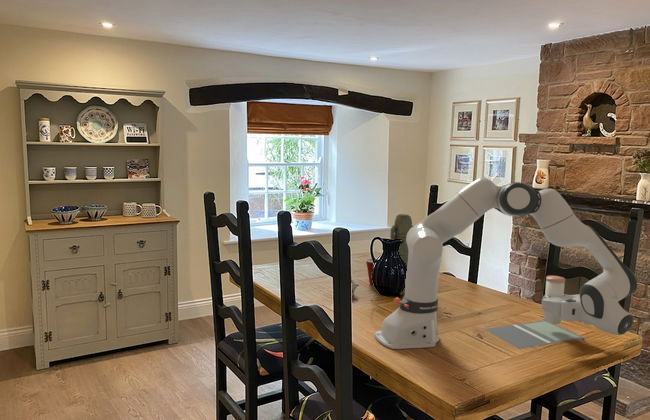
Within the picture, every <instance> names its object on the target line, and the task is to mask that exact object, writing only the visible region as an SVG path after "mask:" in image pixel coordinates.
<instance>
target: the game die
mask: <svg viewBox="0 0 650 420" xmlns="http://www.w3.org/2000/svg"><path fill="white" fill-rule="evenodd" d="M350 277H351V283H352V296H355V292H356V289H357V287H358V286H360V285H359V284H357V283H356V282H355V281H354V280H353V279H352V276H350Z"/></svg>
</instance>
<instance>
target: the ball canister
mask: <svg viewBox="0 0 650 420" xmlns="http://www.w3.org/2000/svg"><path fill="white" fill-rule="evenodd" d="M565 284H566V278H565V277H563V276H559V275H547V276H546V278H545V294H544V296H546V295H547V296H550V298H552V297H560V296H564V294H565V293H564V292H565ZM542 321H545V322H547V323H551V324H555V325H559V324H561V323H562V319H561V317H559V316H555V315H553V314H551V313H548V312H546V311H544V310H543V318H542Z"/></svg>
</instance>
